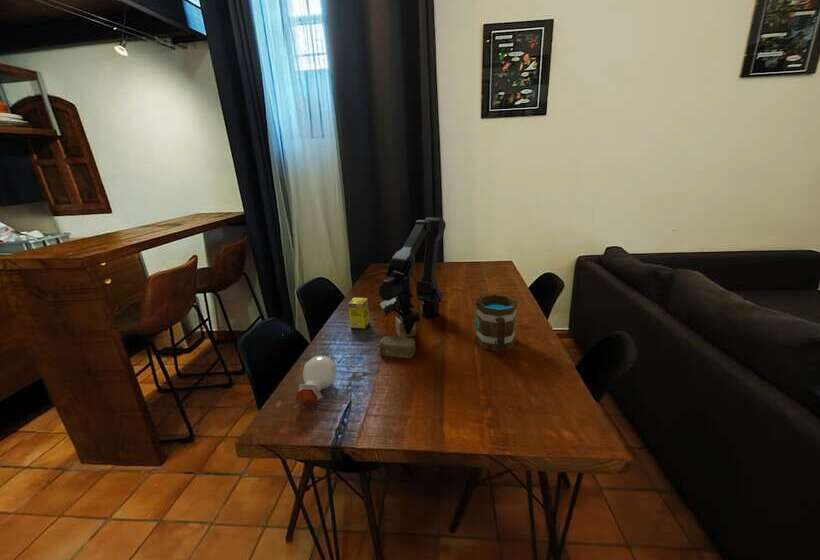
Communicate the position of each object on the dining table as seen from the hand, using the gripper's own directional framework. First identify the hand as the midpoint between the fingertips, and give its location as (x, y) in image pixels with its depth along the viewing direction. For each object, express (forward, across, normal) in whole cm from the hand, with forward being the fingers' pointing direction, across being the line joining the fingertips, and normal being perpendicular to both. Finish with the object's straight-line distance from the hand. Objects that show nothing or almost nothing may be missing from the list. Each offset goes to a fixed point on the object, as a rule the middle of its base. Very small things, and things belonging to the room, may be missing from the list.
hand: (405, 330), depth 127 cm
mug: (+2, +20, +26) cm, 33 cm away
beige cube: (+1, 0, 0) cm, 1 cm away
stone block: (+2, +12, -6) cm, 14 cm away
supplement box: (+2, -12, -15) cm, 19 cm away
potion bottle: (+2, +24, -32) cm, 41 cm away
